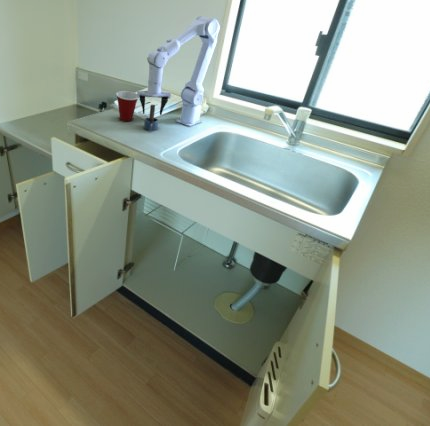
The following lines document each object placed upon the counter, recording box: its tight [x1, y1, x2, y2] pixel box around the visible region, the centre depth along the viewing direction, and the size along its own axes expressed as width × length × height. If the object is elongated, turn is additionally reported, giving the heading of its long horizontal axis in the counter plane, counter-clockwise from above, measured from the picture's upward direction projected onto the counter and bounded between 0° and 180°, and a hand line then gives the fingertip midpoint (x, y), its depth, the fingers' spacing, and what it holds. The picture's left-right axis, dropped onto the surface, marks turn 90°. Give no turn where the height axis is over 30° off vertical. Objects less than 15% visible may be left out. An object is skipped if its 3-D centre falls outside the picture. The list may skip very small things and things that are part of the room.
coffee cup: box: [143, 116, 159, 132], centre depth 148 cm, size 9×6×4 cm
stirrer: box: [148, 104, 156, 122], centre depth 147 cm, size 2×2×10 cm
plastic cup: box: [115, 90, 140, 122], centre depth 154 cm, size 11×11×12 cm
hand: (152, 113), depth 147 cm, fingers open, 7 cm apart
